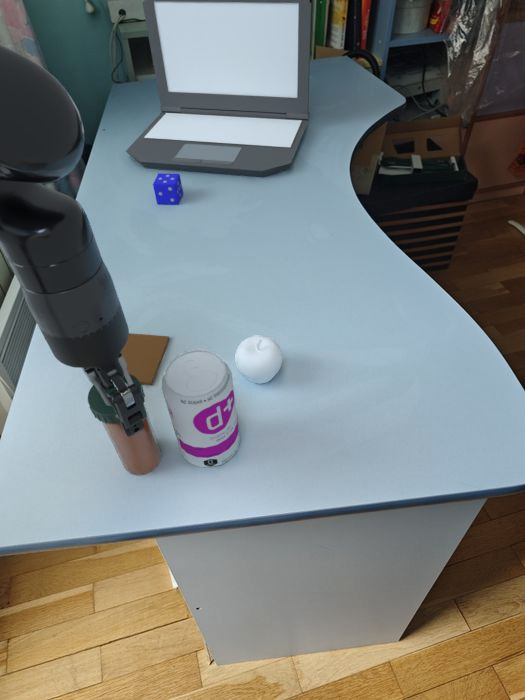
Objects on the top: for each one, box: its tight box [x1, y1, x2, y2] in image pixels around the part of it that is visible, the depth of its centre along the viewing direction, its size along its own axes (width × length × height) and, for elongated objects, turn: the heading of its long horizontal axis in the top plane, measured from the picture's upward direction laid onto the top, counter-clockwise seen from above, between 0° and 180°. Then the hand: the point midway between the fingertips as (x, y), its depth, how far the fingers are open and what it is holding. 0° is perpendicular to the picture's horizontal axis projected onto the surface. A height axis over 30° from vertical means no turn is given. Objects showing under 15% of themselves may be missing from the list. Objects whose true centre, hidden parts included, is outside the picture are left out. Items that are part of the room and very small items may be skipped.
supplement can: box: [161, 349, 241, 468], centre depth 61 cm, size 8×8×15 cm
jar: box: [101, 404, 163, 476], centre depth 60 cm, size 5×5×14 cm
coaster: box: [120, 332, 170, 386], centre depth 77 cm, size 10×10×1 cm
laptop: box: [125, 0, 313, 178], centre depth 117 cm, size 43×31×34 cm
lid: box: [87, 374, 146, 424], centre depth 55 cm, size 6×6×2 cm
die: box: [152, 172, 184, 206], centre depth 110 cm, size 5×5×5 cm
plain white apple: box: [234, 334, 283, 385], centre depth 71 cm, size 7×7×8 cm
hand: (122, 411), depth 57 cm, fingers closed on lid, 6 cm apart
